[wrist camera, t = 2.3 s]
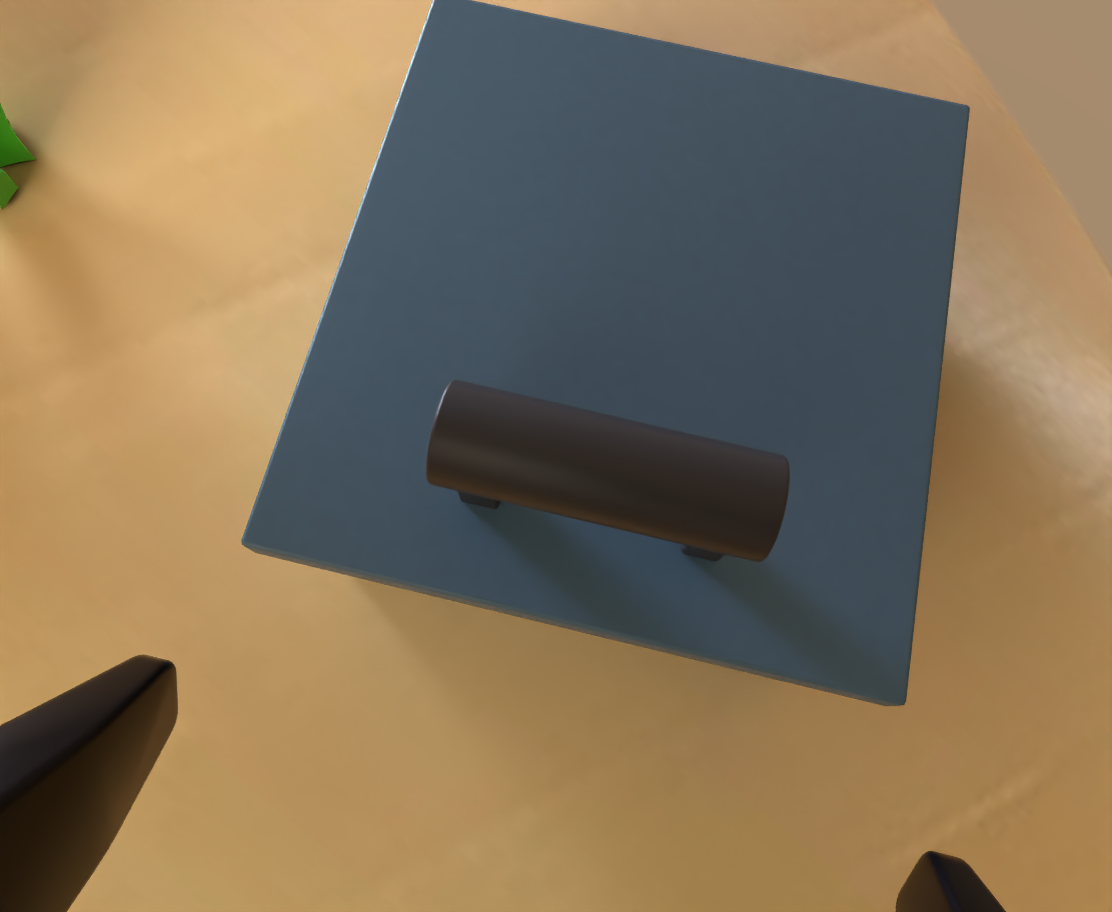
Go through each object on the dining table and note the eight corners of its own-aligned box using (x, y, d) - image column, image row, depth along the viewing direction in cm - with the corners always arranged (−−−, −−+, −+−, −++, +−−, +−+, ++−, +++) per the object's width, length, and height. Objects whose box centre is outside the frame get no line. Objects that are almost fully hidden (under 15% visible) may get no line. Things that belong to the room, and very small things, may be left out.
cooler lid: (888, 707, 15) (1028, 704, 11) (252, 552, 15) (148, 491, 11) (953, 129, 19) (1077, -42, 14) (438, 19, 19) (412, -177, 15)
